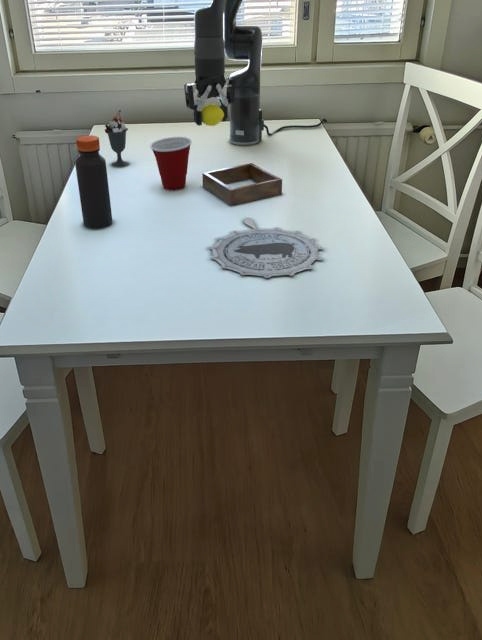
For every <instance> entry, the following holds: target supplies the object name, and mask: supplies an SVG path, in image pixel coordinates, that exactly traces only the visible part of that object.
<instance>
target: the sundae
mask: <svg viewBox="0 0 482 640" xmlns="http://www.w3.org/2000/svg"><path fill="white" fill-rule="evenodd" d="M121 112H122V110H118V112H117V114H116V116H113V118H112V119H111V120H110V121H109V123H106V124H105V125H104V127H105V129H104V132H105V134H107V136H108V141H109V145H110V148H111V150H112V151H113V152H115V153H116V161H113V162H112V163H111V167H114V168H123V167H126V166H129V162H128V161H125V160H123V158H122V153H123V152H124V150H125V149H126V143H127V141H126V140H127V131H128V130H129V128H128V127H127V126H126V124H125V123H124V122H123V119H122V118H121ZM118 115H119V118H118Z"/></svg>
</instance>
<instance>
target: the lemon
mask: <svg viewBox="0 0 482 640" xmlns="http://www.w3.org/2000/svg"><path fill="white" fill-rule="evenodd" d="M200 111H202V124H204V125H205V126H209V127H213V126H214V127H215V126H217V125H218V124H220V123H221V122H222V121H221V120H222V119H223V117H224V113H223V111H222V109H221V108H220V105H217V104H214V103H212V104H211V103H210V104H206V105H203V106H202V108H201V110H200Z"/></svg>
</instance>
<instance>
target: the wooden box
mask: <svg viewBox="0 0 482 640" xmlns="http://www.w3.org/2000/svg"><path fill="white" fill-rule="evenodd" d="M247 180H251V181H253V182H255V183H251V184H247V185H242V186H237V187H233V188H232V187H230V186H229V185H228V184H233V183H237V182H243V181H247ZM202 188H203V189H204V190H206V191H208V192H209V193H211V194H212V195H213V196H215V197H217V198H218V199H219V200H221V201H222V202H224V203H225V204H227V205H228V206H230V207H232V206H237V205H241V204H246V203H250V202H254V201H259V200H264V199H267V198H272V197H276V196H280V195H283V179H282V178H281V177H279V176H277V175H275V174H273V173H271V172H269V171H267V170H266V169H264V168H262V167H261V166H258V165H256V164H255V163H252V162H250V163H245V164H240V165H235V166H230V167H224V168H219V169H214V170H211V171H210V170H209V171H205V172H202Z"/></svg>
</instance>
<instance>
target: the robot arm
mask: <svg viewBox="0 0 482 640" xmlns="http://www.w3.org/2000/svg"><path fill="white" fill-rule="evenodd" d="M242 2H243V0H212V2H211V3H210V5H209V6H206V7H201V8H198V9H196V10H195V11H194V14H193V16H194V17H193V24H194V25H193V26H194V43H193V44H194V45H193V56H194V75H195V80H194V82H193V83H185V84H184V85H183V88H184V98H185V106H186V108H188V109H190V110H192V111H193V123H194V124H196V125H197V126H200V127H201V126H203V122H202V111H201V109H202V108H203V107H204V104H205V103H206V102H207V100H208V99H211V98H216V99H217V100H218V102H219V104H220V105H219V107H220V108H221V109H222V111H223V113H224V117H223V119H222V120H221V122H226V121H227V119H228V118H229V143H231V144H233V145H235V146H251V145H256V144H258V143H259V142H262V141H263V131H264V130H266V135H267V136H269V137H270V136H273V135H274V134H276V133H278V132H280V131H282V130H284V129H293V128H294V129H295V128H296V129H305V128H306V129H312V128H317V127H320V126H321V125H322V124H323V123H328V120H327V119H326V118H322V119H321V120H320V122H318V123H317V124H312V125H311V124H309V125H295V124H294V125H293V124H292V125H284V126H281V127H279V128H277V129H276V130H275V131H274V132H272V133H270V130H269V127H268V125H266V124H265V120H264V119H263V109H261V71H262V54H263V53H262V51H263V32H262V29H261V27H260V26H259V25H258V26H257V25H237V16H238V12H239V10H240V7H241V4H242ZM225 58H227V60H230V61H245V62H247V61H248V64H247V66H246V67H245V68H243V69H241V70H238V71H235V72H233V73H231V74H230V75H229V77H227V78H226V77H225V73H226V61H225V60H226V59H225ZM224 87H226V90H225V91H226V93H225V92H224V90H223V89H224ZM195 89H196V90H195ZM196 91H197V92H196ZM195 92H196V95H194V93H195ZM194 96H195V97H194ZM228 114H229V115H228ZM228 116H229V117H228Z"/></svg>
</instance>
